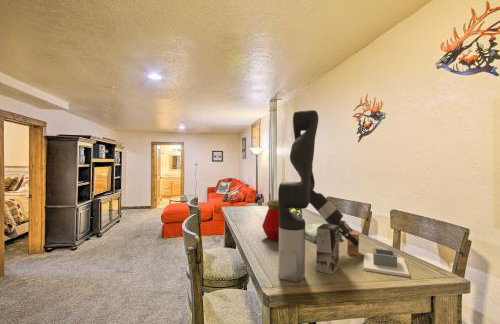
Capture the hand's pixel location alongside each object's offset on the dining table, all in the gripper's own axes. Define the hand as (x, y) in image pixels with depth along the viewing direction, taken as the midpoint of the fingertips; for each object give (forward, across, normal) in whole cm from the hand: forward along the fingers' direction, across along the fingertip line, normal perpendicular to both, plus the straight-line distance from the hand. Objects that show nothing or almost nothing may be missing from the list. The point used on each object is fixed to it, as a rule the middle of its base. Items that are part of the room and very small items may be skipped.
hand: (357, 242), depth 120 cm
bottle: (-25, +6, +32) cm, 41 cm away
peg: (+2, 0, +5) cm, 5 cm away
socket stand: (+11, -10, -4) cm, 15 cm away
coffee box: (-3, -23, +10) cm, 25 cm away
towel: (-11, +21, +18) cm, 30 cm away
